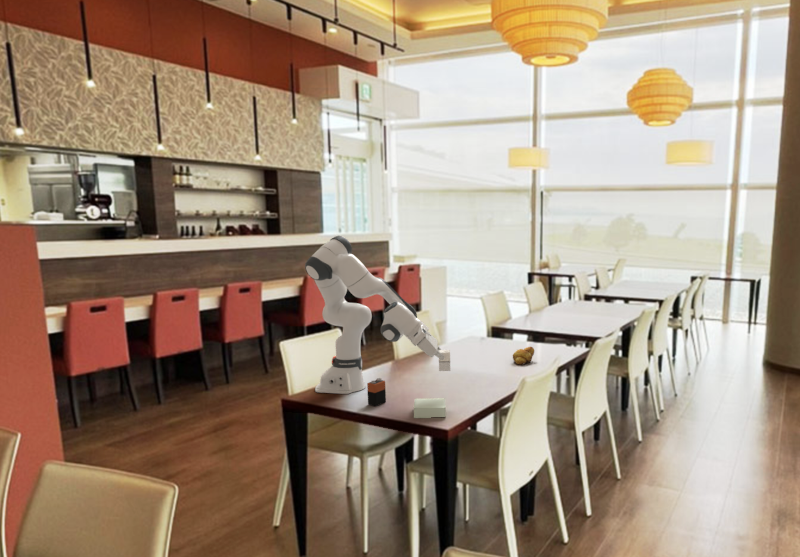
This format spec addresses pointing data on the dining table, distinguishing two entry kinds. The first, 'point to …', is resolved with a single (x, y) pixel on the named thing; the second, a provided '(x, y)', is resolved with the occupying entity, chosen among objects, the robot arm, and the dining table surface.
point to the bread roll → (523, 355)
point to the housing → (444, 361)
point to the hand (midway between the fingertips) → (443, 357)
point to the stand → (429, 408)
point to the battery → (376, 392)
